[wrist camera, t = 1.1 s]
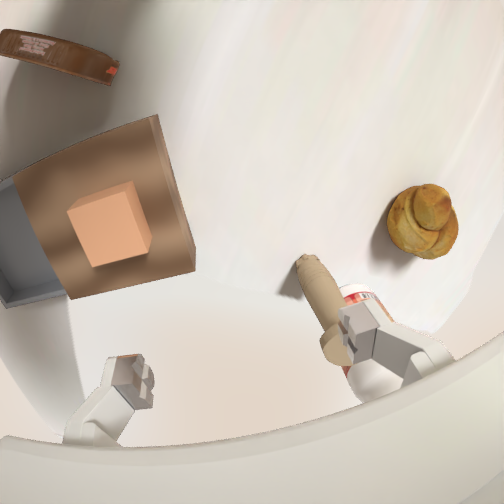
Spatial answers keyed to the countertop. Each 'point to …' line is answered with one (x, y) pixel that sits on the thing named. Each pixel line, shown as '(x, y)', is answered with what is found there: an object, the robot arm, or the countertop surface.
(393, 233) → the bread roll
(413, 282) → the countertop surface
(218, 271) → the countertop surface
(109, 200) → the terracotta block
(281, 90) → the countertop surface
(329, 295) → the handle
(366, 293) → the fruit juice
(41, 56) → the tin
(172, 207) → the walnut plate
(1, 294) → the box
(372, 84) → the countertop surface
